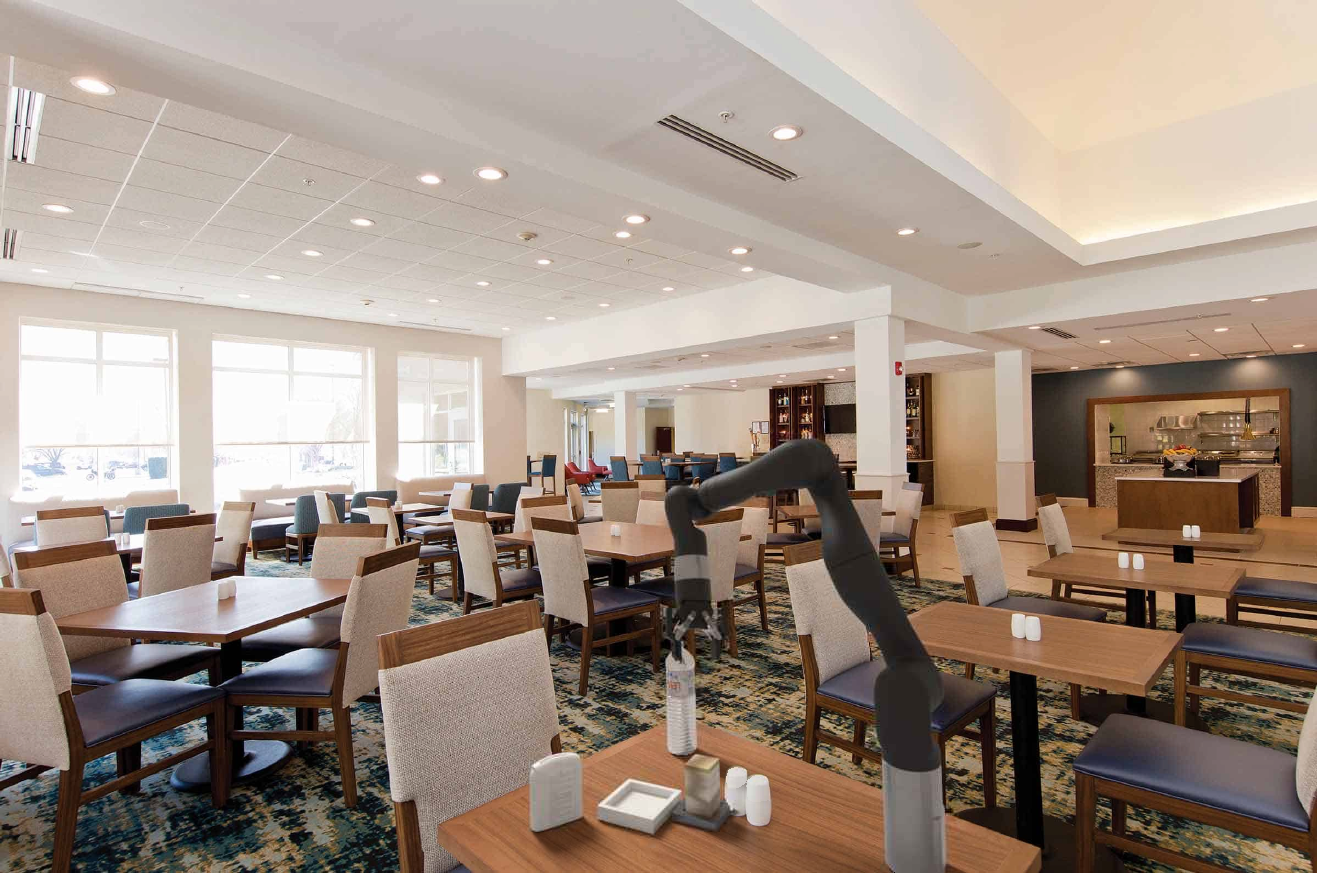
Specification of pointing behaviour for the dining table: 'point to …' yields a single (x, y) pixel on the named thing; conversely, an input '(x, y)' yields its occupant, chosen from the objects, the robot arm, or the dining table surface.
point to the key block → (702, 785)
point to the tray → (639, 805)
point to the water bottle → (681, 704)
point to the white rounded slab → (555, 791)
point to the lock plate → (702, 821)
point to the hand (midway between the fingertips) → (697, 660)
